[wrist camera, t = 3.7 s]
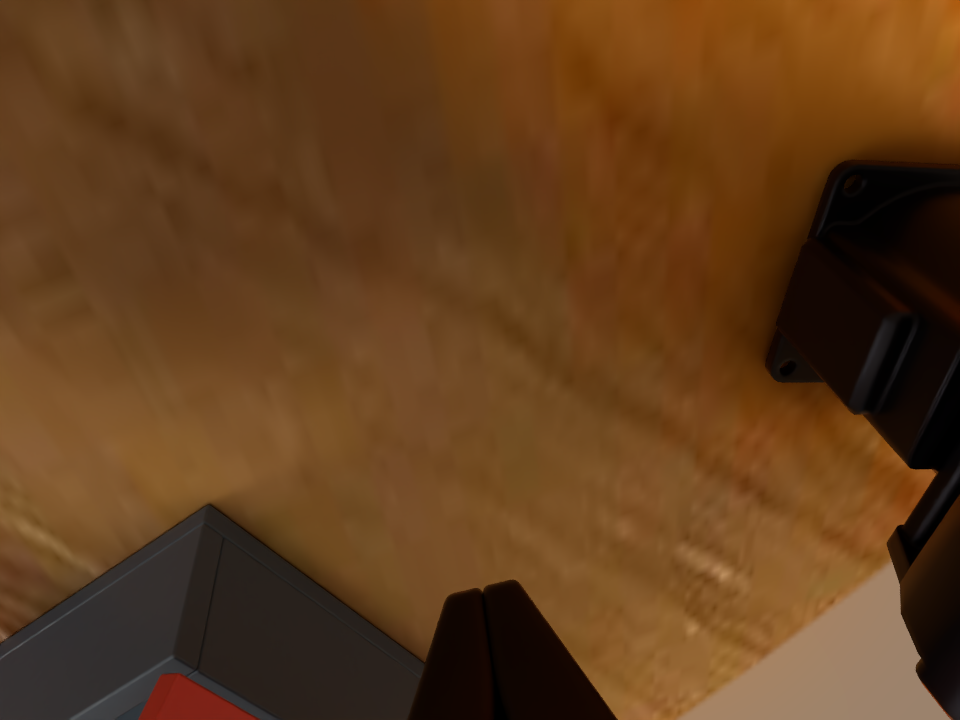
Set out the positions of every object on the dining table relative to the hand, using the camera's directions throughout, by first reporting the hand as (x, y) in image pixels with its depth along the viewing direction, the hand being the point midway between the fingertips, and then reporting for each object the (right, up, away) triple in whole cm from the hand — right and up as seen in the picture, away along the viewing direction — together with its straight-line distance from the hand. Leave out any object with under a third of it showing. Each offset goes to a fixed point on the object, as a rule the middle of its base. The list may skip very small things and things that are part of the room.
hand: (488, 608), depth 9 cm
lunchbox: (-9, -8, +18) cm, 22 cm away
